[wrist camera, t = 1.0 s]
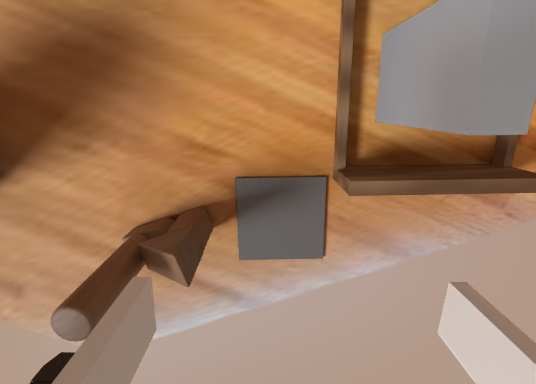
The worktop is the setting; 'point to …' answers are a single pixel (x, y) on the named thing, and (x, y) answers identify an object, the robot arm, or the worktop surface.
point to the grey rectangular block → (461, 68)
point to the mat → (281, 217)
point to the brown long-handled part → (135, 269)
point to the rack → (416, 176)
